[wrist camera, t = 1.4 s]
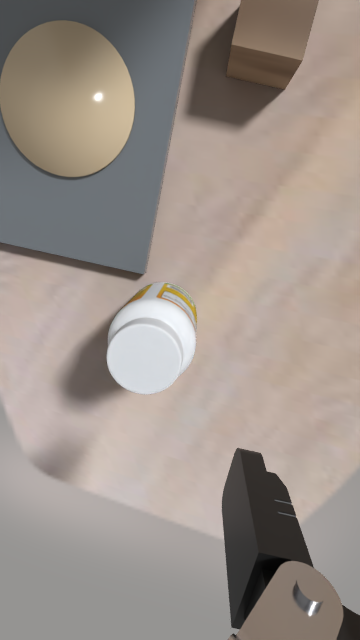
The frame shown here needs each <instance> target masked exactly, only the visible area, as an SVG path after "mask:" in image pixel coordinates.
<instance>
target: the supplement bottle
mask: <svg viewBox="0 0 360 640" xmlns="http://www.w3.org/2000/svg"><path fill="white" fill-rule="evenodd" d="M196 323H197V313H196V308H195V304H194V302H193V300H192V299H191V297H190V296H189V294H188V293H187V292H186V291H185V290H183V289H182V288H180V287H179V286H177V285H174V284H171V283H166V282H158V283H153V284H150V285H148V286H146V287H144V288H143V289H141V290H140V291H139V292H138V293H137V294H136V295H135V296H134V297H133V298H132V299H131V300H130V301H129V302H128V303H127V304H126V305H125V306H124V307H123V308H122V309H121V310H120V311H119V312H118V314H117V315H116V316H115V318H114V319H113V321H112V323H111V325H110V328H109V332H108V349H107V365H108V369H109V371H110V373H111V375H112V377H113V378H114V379H115V381H116V382H117V383H118V384H119V385H121V386H122V387H123V388H125V389H127V390H129V391H131V392H134V393H138V394H154V393H158V392H161V391H163V390H165V389H166V388H168V387H169V386H170V385H171V384H172V383H173V382H174V381H175V380H176V378H177V377H178V376H179V375H181V374H182V373H183V372H184V371H185V370H186V369H187V368H188V366H189V365H190V363H191V361H192V359H193V356H194V353H195V348H196Z"/></svg>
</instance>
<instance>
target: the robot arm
mask: <svg viewBox="0 0 360 640" xmlns="http://www.w3.org/2000/svg"><path fill="white" fill-rule="evenodd" d="M291 503H292V502H291V499H290V496H289V493H288V490H287V488H286V486H285V485H284V484H283V482H282V481H281V480H280V478H279V477H278V476H277V475H276V474H275V473H271V472H267V471H266V468H265V464H264V460H263V457H262V454H261V453H258V452H254V451H249V450H245V449H240V448H237V449H236V451H235V453H234V457H233V460H232V463H231V467H230V470H229V473H228V476H227V480H226V483H225V486H224V491H223V497H222V516H223V528H224V540H225V553H226V565H227V577H228V589H229V602H230V613H231V626H232V628H237V629H240V630H239V632H238V633H237V634H236V635H235V634H232V635H231V636H230V637H229V638H228V640H360V615H358V614H356V613H354V612H352V611H351V610H349V609H347V608H346V607H345V606H343V605H342V603H341V601H340V598H339V596H338V594H337V592H336V591H335V589H334V587H333V586H332V585H331V583H330V582H329V581H328V580H327V579H326V578H325V577H324V576H323V575H322V574H321V573H320V572H318V571H317V570H316V569H314V567H313V564H312V561H311V558H310V555H309V552H308V549H307V546H306V543H305V541H304V537H303V534H302V531H301V529H300V526H299V523H298V520H297V518H296V514H295V511H294V508H293V505H291Z"/></svg>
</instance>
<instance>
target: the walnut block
mask: <svg viewBox="0 0 360 640" xmlns="http://www.w3.org/2000/svg"><path fill="white" fill-rule="evenodd" d="M318 1H319V0H241V3H240V8H239V12H238V17H237V21H236V26H235V31H234V35H233V40H232V44H231V50H230V56H229V62H228V68H227V74H226V76H227V77H231V78H236V79H240V80H244V81H249V82H253V83H258V84H262V85H267V86H271V87H276V88H280V89H284V90H285V88H286V87H287V85H288V83H289V82H290V80H291V79H292V77H293V75H294V74H295V72H296V70H297V69H298V67H299V65H300V64H301V62H302V60H303V57H304V53H305V49H306V46H307V42H308V38H309V34H310V31H311V27H312V23H313V20H314V16H315V12H316V8H317V5H318Z"/></svg>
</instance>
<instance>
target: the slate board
mask: <svg viewBox="0 0 360 640" xmlns="http://www.w3.org/2000/svg"><path fill="white" fill-rule="evenodd" d="M196 1H197V0H0V242H1V243H6V244H10V245H15V246H19V247H24V248H28V249H33V250H37V251H42V252H46V253H51V254H55V255H60V256H64V257H69V258H73V259H77V260H82V261H86V262H91V263H95V264H100V265H104V266H109V267H113V268H118V269H122V270H127V271H131V272H136V273H140V274H145V273H146V269H147V264H148V258H149V253H150V248H151V242H152V237H153V231H154V226H155V221H156V215H157V210H158V205H159V199H160V194H161V189H162V183H163V178H164V173H165V167H166V162H167V156H168V151H169V146H170V140H171V135H172V130H173V124H174V119H175V114H176V108H177V103H178V97H179V92H180V87H181V81H182V76H183V71H184V65H185V60H186V55H187V49H188V44H189V39H190V33H191V28H192V22H193V17H194V12H195V6H196Z"/></svg>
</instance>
